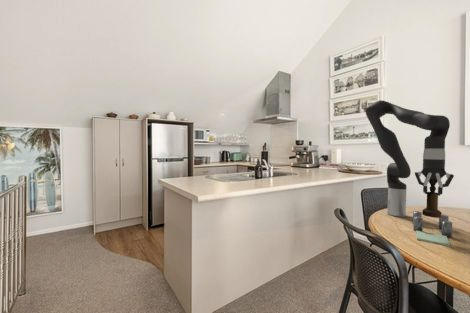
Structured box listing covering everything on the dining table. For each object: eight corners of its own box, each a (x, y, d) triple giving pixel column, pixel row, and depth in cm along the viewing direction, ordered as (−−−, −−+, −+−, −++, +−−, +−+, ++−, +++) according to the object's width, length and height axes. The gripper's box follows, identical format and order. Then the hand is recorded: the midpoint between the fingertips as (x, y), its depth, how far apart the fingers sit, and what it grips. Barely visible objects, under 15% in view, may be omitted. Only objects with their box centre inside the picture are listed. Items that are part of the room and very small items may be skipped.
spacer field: (413, 231, 109) (413, 217, 109) (412, 222, 121) (413, 210, 121) (452, 238, 100) (453, 223, 100) (447, 228, 112) (448, 215, 112)
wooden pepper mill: (436, 214, 102) (438, 177, 101) (444, 218, 96) (446, 179, 95) (419, 213, 104) (420, 176, 103) (426, 217, 98) (427, 178, 97)
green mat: (416, 239, 99) (417, 237, 99) (416, 231, 108) (416, 230, 108) (450, 246, 92) (450, 244, 92) (446, 237, 101) (446, 236, 101)
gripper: (414, 158, 100) (412, 193, 101) (457, 159, 91) (455, 198, 92) (413, 157, 106) (412, 191, 107) (454, 158, 97) (452, 195, 98)
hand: (432, 194), depth 100 cm, fingers closed on wooden pepper mill, 4 cm apart
